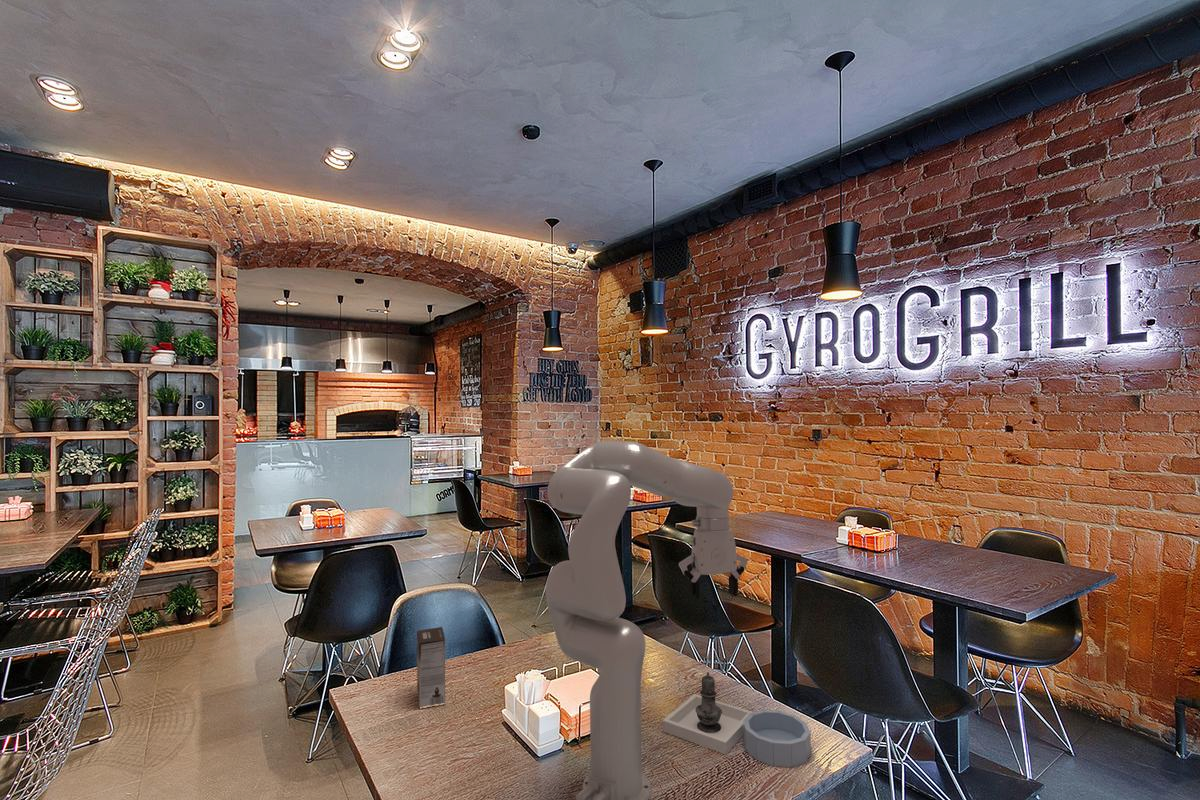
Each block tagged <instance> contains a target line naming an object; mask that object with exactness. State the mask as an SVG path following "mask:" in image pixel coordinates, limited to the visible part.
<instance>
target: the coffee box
mask: <svg viewBox="0 0 1200 800" xmlns="http://www.w3.org/2000/svg"><path fill="white" fill-rule="evenodd" d="M416 680H417V681H416V682H417V683H416V684H417V685H416V689H417V690H416V691H417V692H418V693H417V700H419V701H418V707H423V706H427V705H434V704H441V703H445V704H446V637H445V633H444V630H443V626H439V627H438V626H437V627H432V628H426V629H421V630H419V629H418V630H417V631H416Z"/></svg>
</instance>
